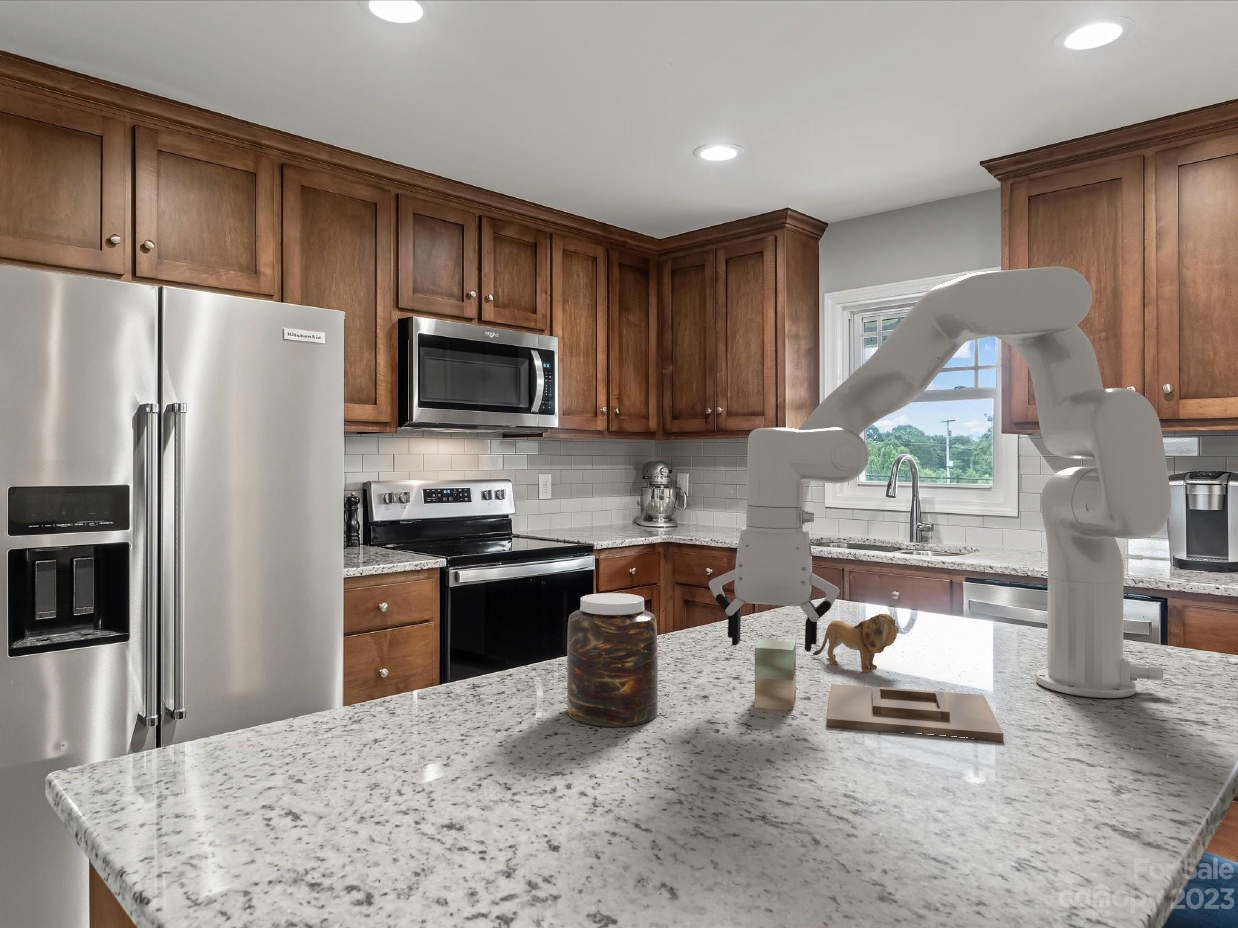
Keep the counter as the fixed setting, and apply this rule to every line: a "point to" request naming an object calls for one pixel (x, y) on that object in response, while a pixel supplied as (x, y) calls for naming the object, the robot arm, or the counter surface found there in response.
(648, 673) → the jar
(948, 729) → the walnut socket board
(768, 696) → the two-tone block
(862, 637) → the lion figurine
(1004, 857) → the counter surface
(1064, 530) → the robot arm
